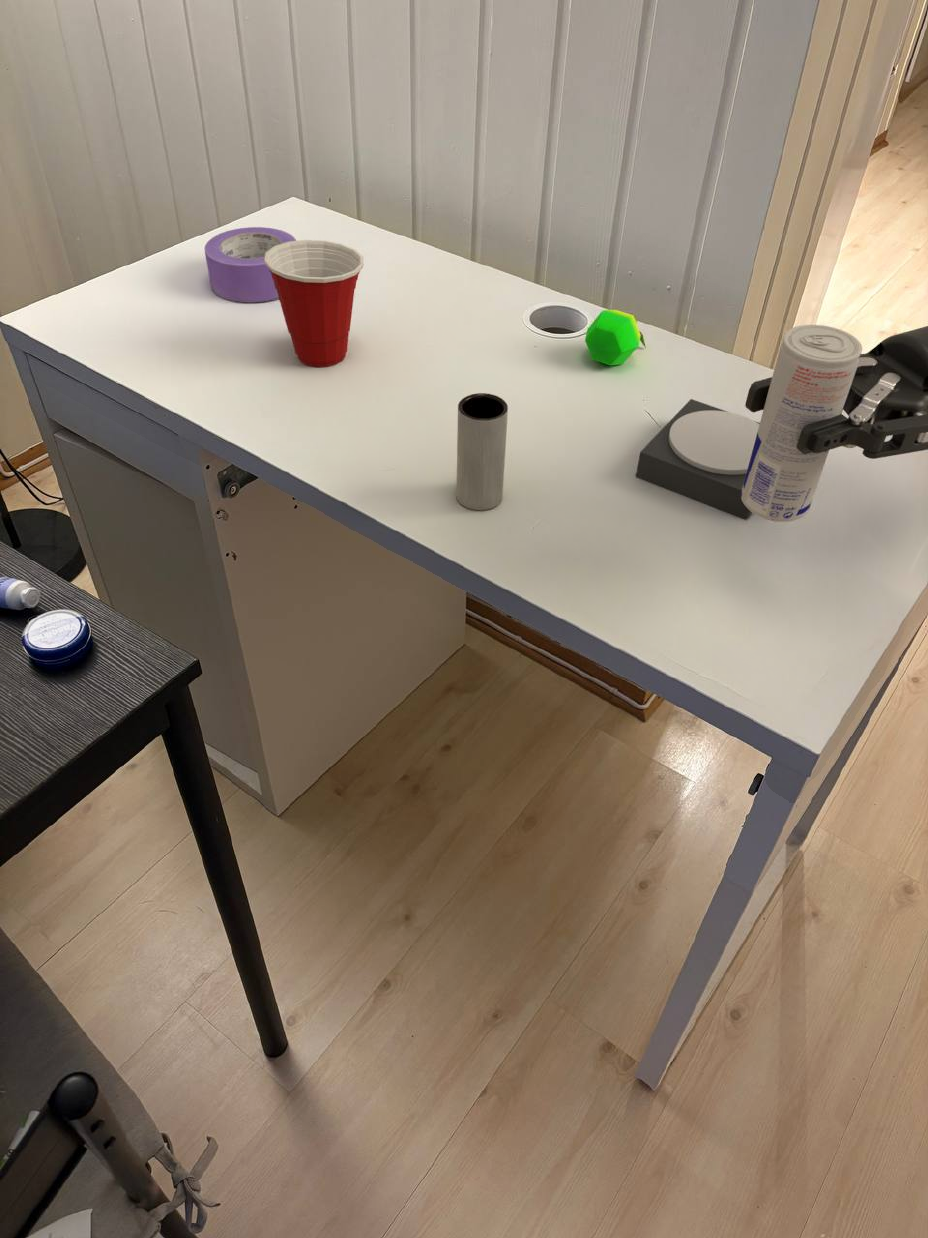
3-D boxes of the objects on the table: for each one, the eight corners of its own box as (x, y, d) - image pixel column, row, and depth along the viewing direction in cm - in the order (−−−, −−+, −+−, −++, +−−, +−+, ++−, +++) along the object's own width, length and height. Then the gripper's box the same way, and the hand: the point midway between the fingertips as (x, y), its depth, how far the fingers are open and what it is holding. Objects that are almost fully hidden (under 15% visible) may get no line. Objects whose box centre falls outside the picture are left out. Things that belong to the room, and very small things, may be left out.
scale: (791, 460, 99) (801, 431, 96) (747, 520, 92) (755, 490, 89) (685, 422, 104) (692, 393, 101) (635, 476, 97) (640, 446, 94)
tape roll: (210, 265, 128) (204, 228, 125) (298, 259, 130) (294, 223, 126) (210, 306, 120) (203, 268, 117) (304, 300, 122) (300, 262, 118)
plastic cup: (387, 358, 112) (383, 259, 103) (310, 388, 107) (299, 286, 98) (335, 322, 118) (327, 225, 109) (259, 350, 113) (245, 250, 104)
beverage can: (822, 516, 78) (880, 352, 68) (764, 532, 77) (814, 366, 66) (782, 478, 82) (831, 316, 71) (726, 492, 81) (768, 329, 70)
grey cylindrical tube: (502, 511, 92) (508, 420, 85) (455, 510, 92) (457, 419, 85) (502, 483, 95) (507, 393, 88) (456, 482, 95) (458, 391, 88)
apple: (606, 313, 105) (641, 281, 111) (564, 335, 110) (600, 303, 115) (637, 368, 107) (670, 335, 113) (595, 388, 112) (629, 355, 118)
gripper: (892, 289, 79) (727, 331, 74) (1032, 371, 70) (855, 426, 65) (865, 369, 85) (709, 414, 80) (991, 455, 76) (825, 512, 70)
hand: (776, 419), depth 72 cm, fingers closed on beverage can, 5 cm apart
